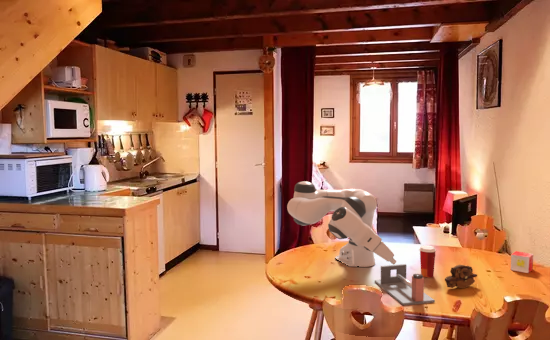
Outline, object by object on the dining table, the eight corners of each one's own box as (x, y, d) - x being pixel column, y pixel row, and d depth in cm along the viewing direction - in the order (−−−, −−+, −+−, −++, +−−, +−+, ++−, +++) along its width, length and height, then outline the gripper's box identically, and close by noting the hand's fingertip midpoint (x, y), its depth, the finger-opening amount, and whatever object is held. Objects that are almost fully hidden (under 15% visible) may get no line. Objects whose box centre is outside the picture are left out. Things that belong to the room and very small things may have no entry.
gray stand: (374, 282, 208) (374, 263, 207) (402, 279, 210) (402, 261, 209) (403, 305, 180) (403, 283, 179) (434, 302, 183) (435, 281, 182)
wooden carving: (451, 292, 194) (451, 270, 193) (443, 288, 198) (444, 267, 197) (479, 286, 200) (479, 264, 199) (471, 283, 204) (471, 262, 203)
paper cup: (435, 273, 218) (436, 245, 216) (435, 279, 210) (436, 250, 209) (418, 272, 220) (419, 244, 219) (418, 277, 213) (418, 248, 212)
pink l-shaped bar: (394, 285, 199) (394, 263, 198) (402, 285, 200) (402, 262, 199) (415, 301, 180) (415, 277, 179) (424, 301, 181) (424, 276, 180)
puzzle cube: (510, 270, 222) (511, 254, 221) (515, 266, 228) (515, 251, 227) (528, 273, 217) (529, 257, 216) (532, 269, 222) (533, 253, 222)
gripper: (351, 238, 188) (374, 258, 191) (370, 250, 168) (395, 272, 171) (361, 227, 189) (383, 247, 192) (381, 237, 169) (406, 260, 171)
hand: (389, 259), depth 181 cm, fingers open, 8 cm apart
